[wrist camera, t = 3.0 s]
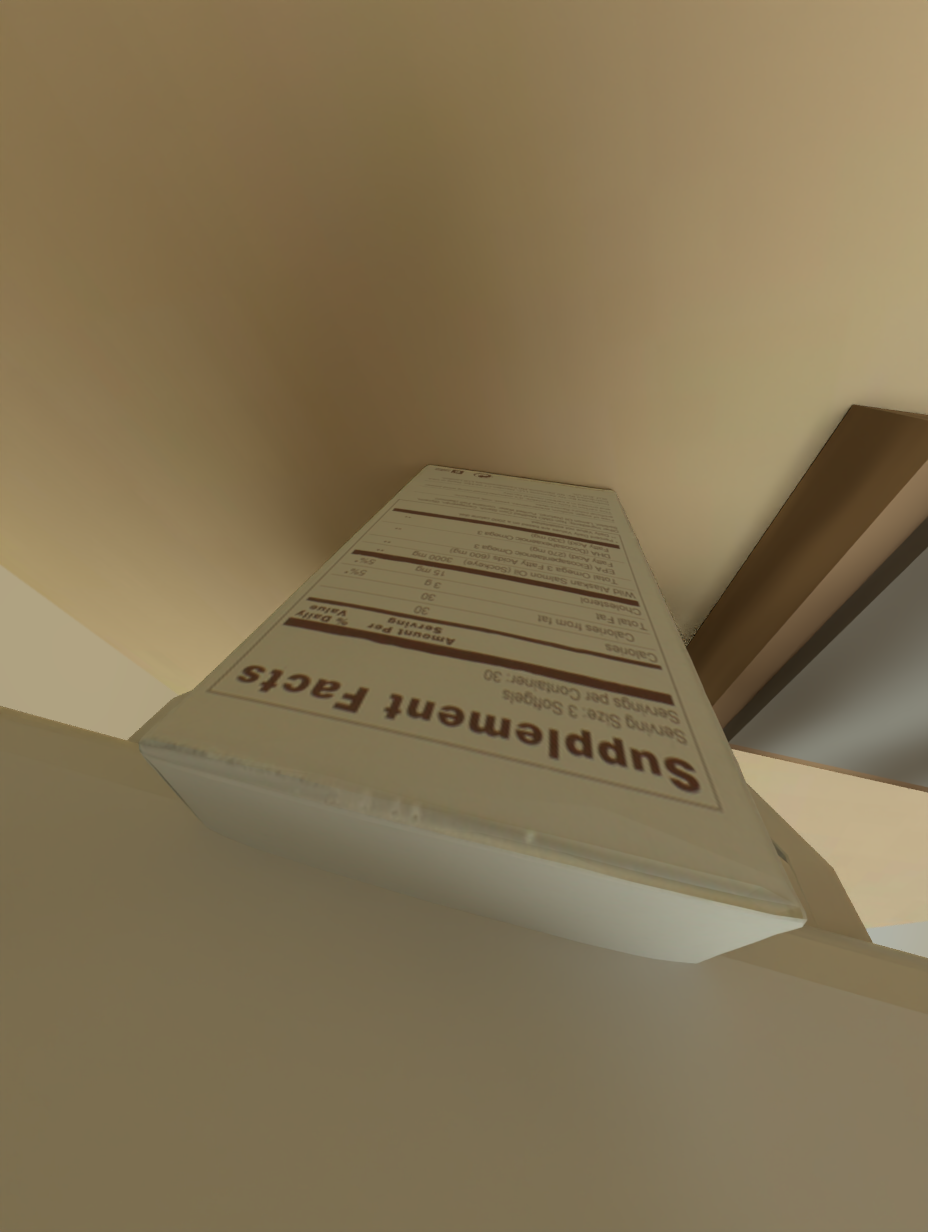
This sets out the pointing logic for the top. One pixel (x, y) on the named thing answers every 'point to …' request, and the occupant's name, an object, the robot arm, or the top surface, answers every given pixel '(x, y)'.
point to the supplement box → (489, 729)
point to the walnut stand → (834, 613)
